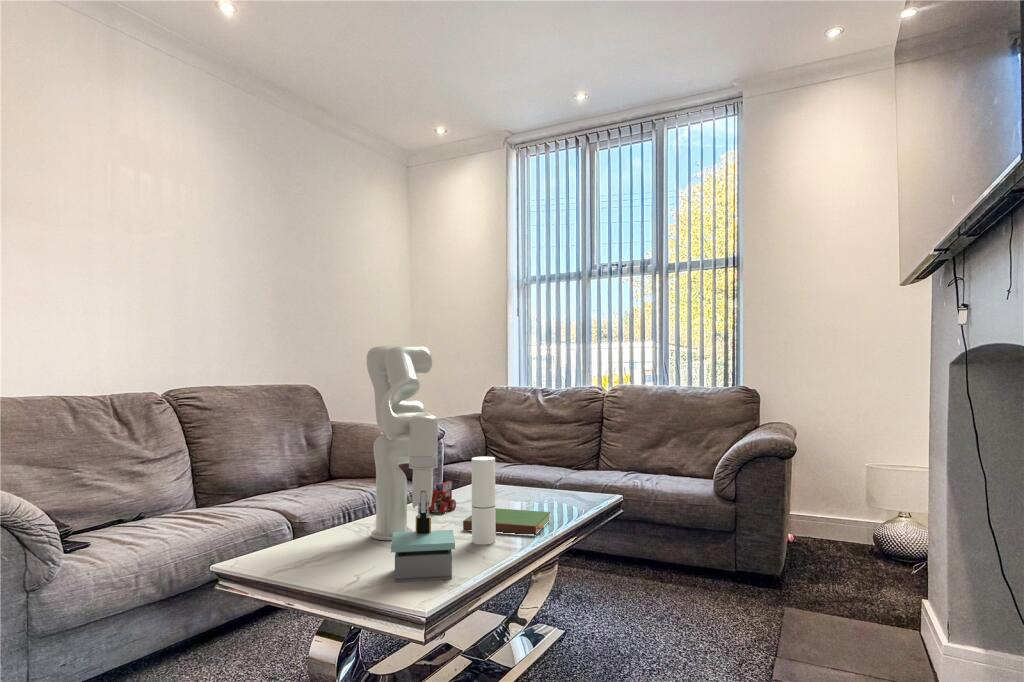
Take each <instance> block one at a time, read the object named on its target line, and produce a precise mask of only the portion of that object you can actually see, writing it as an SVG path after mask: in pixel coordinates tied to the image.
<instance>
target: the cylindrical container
mask: <svg viewBox="0 0 1024 682" xmlns="http://www.w3.org/2000/svg"><path fill="white" fill-rule="evenodd" d="M495 508H496V457H494V456H475V457H472V458H471V515H472V532H471V543H472V542H473V543H476V544H490V543H493V542H495V541H496V538H497V537H496V526H495ZM473 543H472V544H473ZM495 543H496V542H495ZM476 544H475V545H476ZM493 544H494V543H493ZM490 545H491V544H490Z"/></svg>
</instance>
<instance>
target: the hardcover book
mask: <svg viewBox="0 0 1024 682" xmlns="http://www.w3.org/2000/svg"><path fill="white" fill-rule="evenodd" d="M550 513H551V511H540V510H538V511H537V510H523V509H512V508H511V509H509V508H496V507H495V526H496V532H503V533H515V534H534V535H536V533H537V532H538V531H539V530H540V529H541V528H542V527H543V526H544V525H545V524H546V523H547V522H548V521H549V522H550ZM462 526H463V527H462V531H463V530H472V514H471V515H470V516H468V517H466V518H465V519H464V520H463V521H462ZM536 536H537V535H536Z"/></svg>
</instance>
